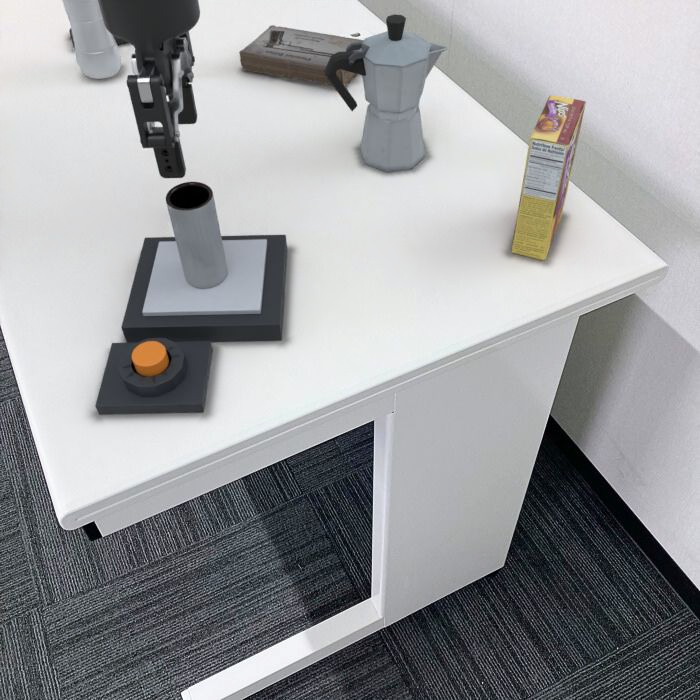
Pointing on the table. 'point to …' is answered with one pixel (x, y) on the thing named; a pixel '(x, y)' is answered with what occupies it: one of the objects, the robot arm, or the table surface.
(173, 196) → the grey hollow tube
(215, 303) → the scale
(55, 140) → the table surface
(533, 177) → the candy box
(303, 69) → the box
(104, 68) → the plastic bottle
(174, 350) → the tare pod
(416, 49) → the coffee maker
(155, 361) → the tare button
